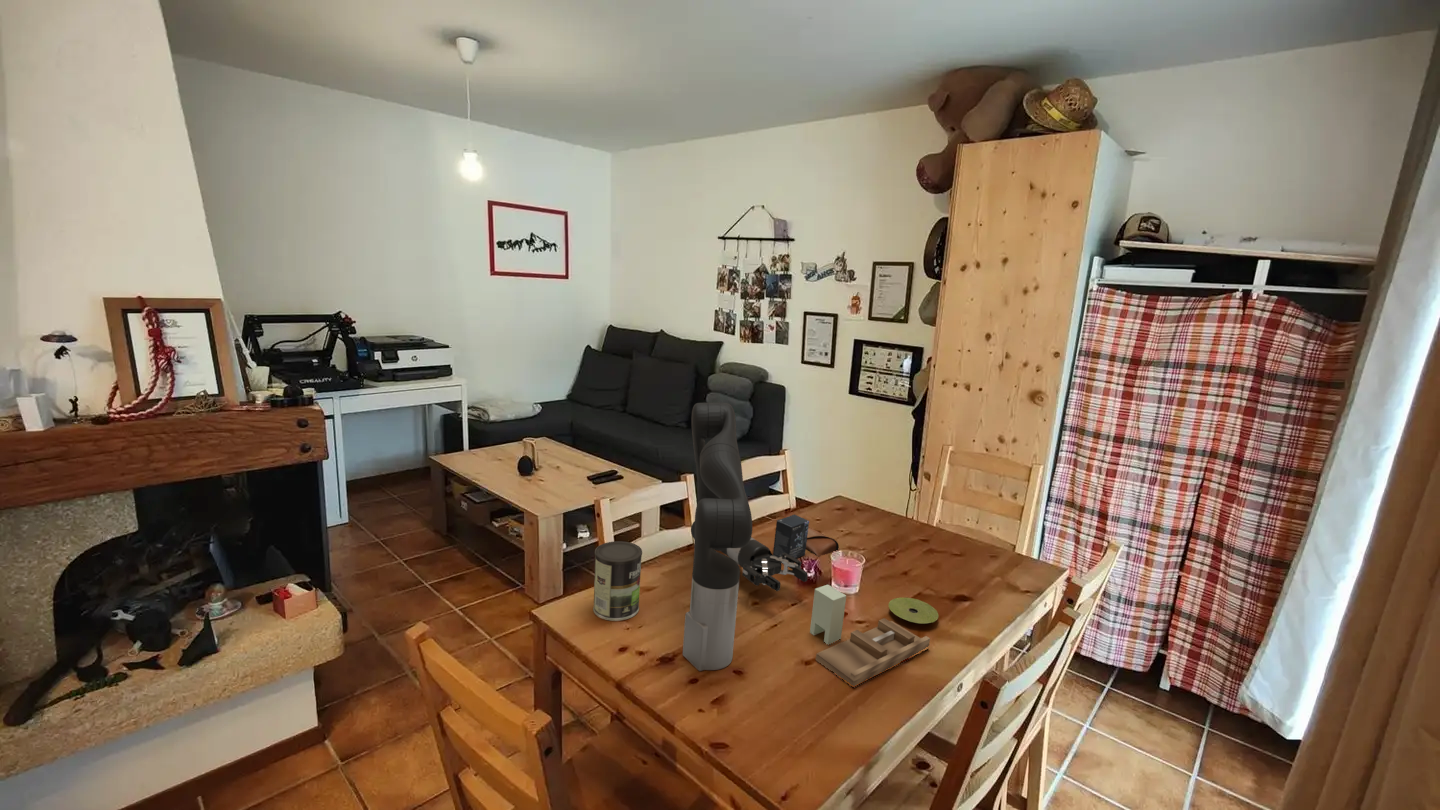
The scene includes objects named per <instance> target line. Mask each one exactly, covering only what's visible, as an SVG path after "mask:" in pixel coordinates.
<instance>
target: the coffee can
mask: <svg viewBox="0 0 1440 810" xmlns="http://www.w3.org/2000/svg"><path fill="white" fill-rule="evenodd" d="M594 556H595V557H594V559H595V560H594V585H593V586H594V587H593V588H594V590H593V592H594V593H593V608H592V609H593V613H594V615H596V617H597V618H600V619H602V620H605V621H612V622H619V621H621V622H622V621H626V620H629V619H632V618H634V617H635V616H636V615H637V614H638V613H639V611H640V589H641V572H642V571H641V570H642V556H643V550H642V548H641V547H640V545H637V544H635V543H633V542H629V541H624V540H623V541H622V540H619V541H618V540H617V541H608V542H605V543H602V544H599V545H598V546H597V547H596V548H595V550H594Z"/></svg>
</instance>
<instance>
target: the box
mask: <svg viewBox="0 0 1440 810" xmlns="http://www.w3.org/2000/svg"><path fill="white" fill-rule="evenodd" d="M809 525H810V520H808V519H806V518H803V517H801V516H799V515H797V514H792V515H789V516H786V517H783V518H781V519H777V520H776V524H775V533H774V540H773V541H774V543H773V548H772V549H773V550H772V555H774V556H777V557H782V554H783V553H787V554H788V555H790V556H792V557H794V558H796V559H799V558H801V557H804V556H806V551H807V550H806V543H807V535H808V527H809Z"/></svg>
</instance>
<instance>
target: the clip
mask: <svg viewBox="0 0 1440 810" xmlns="http://www.w3.org/2000/svg"><path fill="white" fill-rule="evenodd" d="M846 601H847V595H846V594H845V593H843V592H842V591H840V590H838V589H836V588H834V587H833V586H831V585H829V584H826V585H825V584H824V585H823V586H819V587H816V588H814V594H813V601H812V611H811V619H810V620H811V621H810V626H809V627H810V629H809V633H810V634H811V635H813V636H816V635H818V634H820V633H823V632H824V636H823V637H824V639H823V643H824V642H825V643H826V645H827V644H828V645H827V646H829V644H830V645H832V644H834V643H836V642H835V641H837V640H839V639H842V631H843V626H844V617H845V610H846ZM839 641H840V640H839ZM833 642H834V643H833ZM837 642H838V641H837ZM825 643H824V644H825ZM831 643H832V644H831Z"/></svg>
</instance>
